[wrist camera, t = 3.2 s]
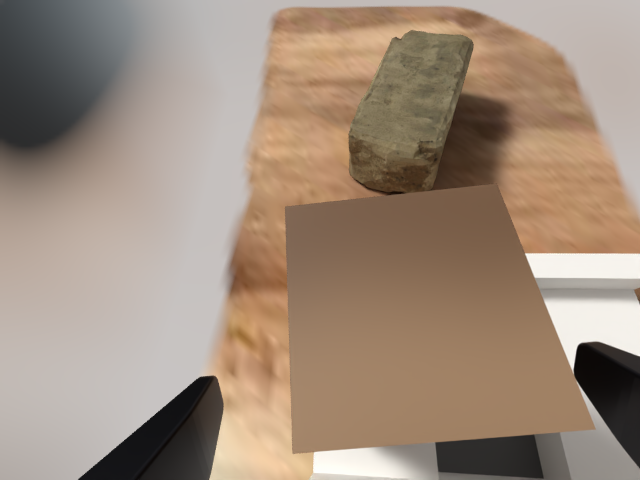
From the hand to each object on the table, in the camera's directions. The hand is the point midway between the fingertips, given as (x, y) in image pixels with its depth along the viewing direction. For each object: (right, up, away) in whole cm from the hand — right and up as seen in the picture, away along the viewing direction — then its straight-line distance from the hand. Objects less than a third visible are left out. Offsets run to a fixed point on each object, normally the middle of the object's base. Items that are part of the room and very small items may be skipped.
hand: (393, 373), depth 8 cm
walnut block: (+1, -3, +7) cm, 7 cm away
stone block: (+5, +11, +17) cm, 21 cm away
